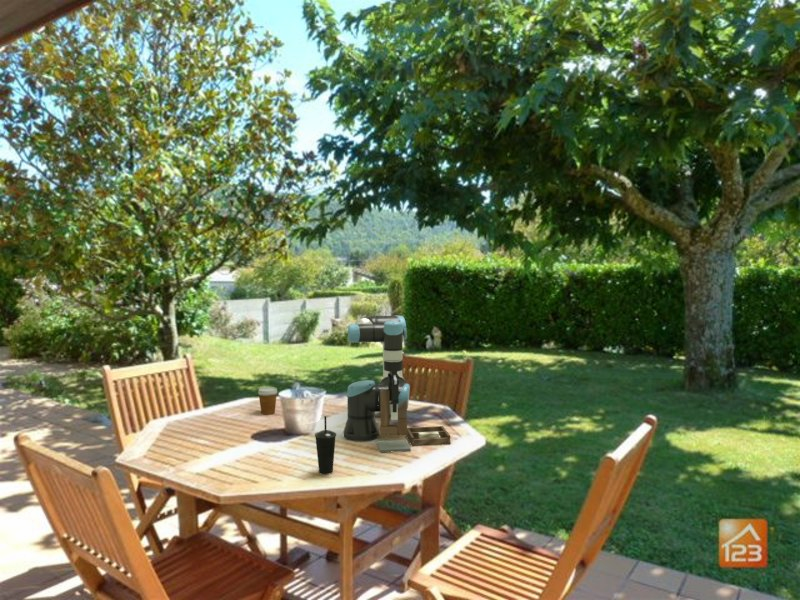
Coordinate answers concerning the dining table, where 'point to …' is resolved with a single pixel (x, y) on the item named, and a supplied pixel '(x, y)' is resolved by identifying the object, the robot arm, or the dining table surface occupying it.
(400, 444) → the slate tile
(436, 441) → the walnut rack
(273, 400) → the disposable coffee cup
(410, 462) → the dining table surface
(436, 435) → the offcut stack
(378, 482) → the dining table surface
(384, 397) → the wooden block assembly
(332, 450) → the drinking cup
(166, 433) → the dining table surface
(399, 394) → the robot arm
